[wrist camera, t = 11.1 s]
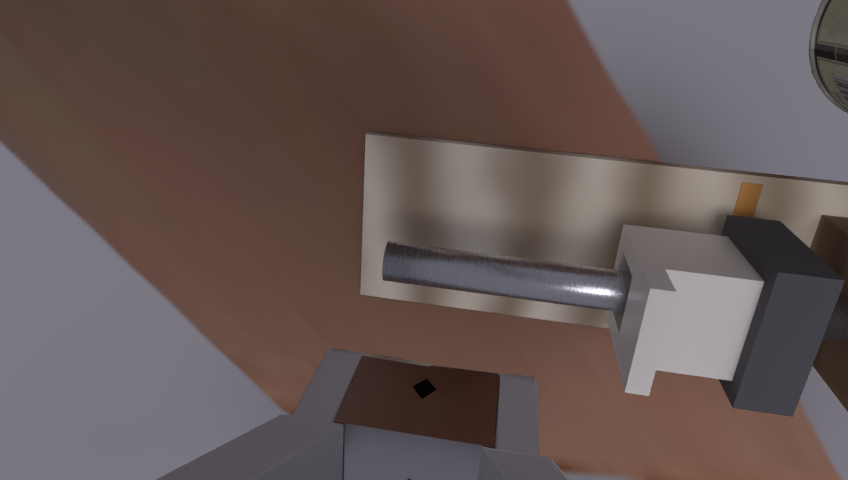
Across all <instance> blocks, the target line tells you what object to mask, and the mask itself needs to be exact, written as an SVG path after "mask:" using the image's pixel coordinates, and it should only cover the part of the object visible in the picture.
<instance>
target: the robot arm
mask: <svg viewBox="0 0 848 480" xmlns="http://www.w3.org/2000/svg"><path fill="white" fill-rule="evenodd" d="M156 480H569V479H568V478H567V476H566V475H565V474H564V473H563V472H562V471H561V470H560V468H559V467H558V466H557V465H556V464H555V463H554V461H553V460H552V459H551V458H548V457H542V456H539V427H538V398H537V380H536V379H535V378H534V377H530V376H521V375H512V374H503V373H500V375H499V374H498V373H490V372H482V371H475V370H467V369H459V368H451V367H444V366H436V365H432V364H429V363H423V362H417V361H411V360H405V359H399V358H393V357H387V356H381V355H375V354H369V353H365V354H364V353H363V352H357V351H350V350H343V349H336V348H332V349H330V350H329V351H327V352H326V354H325V356H324V358H323V360H322V361H321V363H320V365H319V367H318V369H317V370H316V372H315V374H314V376H313V378H312V380H311V381H310V383H309V385H308V387H307V389H306V390H305V392H304V394H303V396H302V398H301V400H300V401H299V403H298V405H297V407H296V409H295V410H294V412H293V414H292V416H288V415H279V416H278V417H276V418H274V419H272V420H270V421H268V422H266V423H264V424H262V425H260V426H258V427H256V428H254V429H253V430H251V431H249V432H247V433H245V434H243V435H241V436H239V437H237V438H235V439H233V440H231V441H229V442H228V443H226V444H224V445H222V446H220V447H218V448H216V449H215V450H212V451H210V452H208V453H206V454H205V455H203V456H201V457H199V458H197V459H195V460H193V461H191V462H189V463H187V464H185V465H183V466H181V467H179V468H178V469H176V470H174V471H172V472H170V473H168V474H166V475H164V476H162V477H160V478H159V479H156Z"/></svg>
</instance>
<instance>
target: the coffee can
mask: <svg viewBox="0 0 848 480" xmlns="http://www.w3.org/2000/svg"><path fill="white" fill-rule="evenodd" d="M809 58H810V64H811V69H812V74H813V75H814V78H815V80H816V82H817V84H818V86H819V88H820V89H821V90H822V92H823V93H824V95H825V96H826V97H827V98H828V99H829V100H830V101H831V102H832V103H833V104H835V105H836V106H837V107H839V108H840V109H842V110H843V111H845V112H847V113H848V0H822V2H821V4H820V6H819V9H818V12H817V14H816V17H815V19H814V22H813V26H812V29H811V33H810V40H809Z"/></svg>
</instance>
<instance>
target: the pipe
mask: <svg viewBox="0 0 848 480" xmlns="http://www.w3.org/2000/svg"><path fill="white" fill-rule="evenodd" d="M382 278H383V281H390V282H397V283H405V284H412V285H420V286H427V287H435V288H442V289H450V290H457V291H465V292H472V293H480V294H487V295H495V296H502V297H509V298H517V299H524V300H532V301H539V302H547V303H554V304H562V305H569V306H577V307H584V308H592V309H599V310H607V311H614V312H622V313H624V311H625V307H626V302H627V298H628V294H629V289H630V285H631V281H632V275H631V272H630V271H623V270H615V269H607V268H599V267H591V266H584V265H576V264H568V263H560V262H552V261H544V260H536V259H528V258H520V257H512V256H504V255H496V254H488V253H481V252H473V251H465V250H457V249H449V248H441V247H433V246H425V245H417V244H409V243H401V242H393V241H388V242H387V245H386V248H385V252H384V257H383V265H382ZM823 340H831V341H838V342H846V343H848V299H845V298H838V300H837V303H836V305H835V308H834V311H833V313H832V316H831V318H830V321H829V323H828V326H827V329H826V331H825V334H824V336H823Z"/></svg>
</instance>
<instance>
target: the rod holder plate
mask: <svg viewBox="0 0 848 480" xmlns="http://www.w3.org/2000/svg"><path fill="white" fill-rule="evenodd" d="M727 215H733V216H742V217H751V218H760V219H768V220H777V221H781V222H782V223H783V224H784V225H785V226H786V227H787V228H788V229H789V230H790V231H792V232H793V233H794V234H795V235H796V236H797V237H798V238H799V239H800V240H801V241H802V242H804V243H805V244H806V245H807V246H808V247H809V248H810V249H811V250H812V251H813V252H814V253H816V254H817V255H818V256H819V257H820V258H821V259H822V260H823V261H824V262H825V263H826V264H828V265H829V266H830V267H831V268H832V269H833V270H834V271H835V272H836V273H837V274H838V275H840V276H841V277H842V278H843V279H844V280H845V282H844V285H843V287H842V290H841V292H840V295H839V298H845V299H848V182H841V181H831V180H822V179H812V178H803V177H794V176H784V175H774V174H765V173H756V172H747V171H737V170H728V169H718V168H709V167H699V166H690V165H680V164H671V163H662V162H652V161H643V160H633V159H624V158H614V157H605V156H596V155H586V154H577V153H567V152H558V151H548V150H539V149H529V148H520V147H511V146H501V145H492V144H482V143H473V142H463V141H454V140H444V139H435V138H426V137H416V136H407V135H397V134H388V133H378V132H369V131H368V132H367V133H366V138H365V169H364V200H363V230H362V261H361V292H360V294H361V295H368V296H375V297H383V298H390V299H397V300H404V301H412V302H419V303H426V304H434V305H441V306H448V307H456V308H463V309H470V310H477V311H485V312H492V313H499V314H507V315H514V316H521V317H528V318H536V319H543V320H550V321H558V322H565V323H572V324H580V325H587V326H594V327H601V328H609V327H608V322H607V318H606V314H605V310H599V309H592V308H584V307H577V306H569V305H562V304H554V303H547V302H539V301H532V300H524V299H517V298H509V297H502V296H495V295H487V294H480V293H472V292H465V291H457V290H450V289H442V288H435V287H427V286H420V285H412V284H405V283H397V282H390V281H383V278H382V265H383V257H384V252H385V248H386V245H387V242H388V241H393V242H401V243H409V244H417V245H425V246H433V247H441V248H449V249H457V250H465V251H473V252H481V253H488V254H496V255H504V256H512V257H520V258H528V259H536V260H544V261H552V262H560V263H568V264H576V265H584V266H591V267H599V268H607V269H614V266H615V261H616V257H617V252H618V247H619V243H620V238H621V233H622V229H623V224H626V225H635V226H643V227H652V228H660V229H669V230H677V231H686V232H694V233H703V234H711V235H720V236H721V234H722V231H723V227H724V224H725V220H726V217H727ZM813 367H814V368H815V369H816V370H817V372H818V373H819V374H820V376H821V377H822V378H823V380H824V381H825V382H826V384H827V385H828V386H829V387H830V389H831V390H832V392H833V393H834V394H835V395H836V397H837V398H838V399H839V401H840V402H841V403H842V405H843V406H844V407H845V409H846V410H847V411H848V343H846V342H838V341H831V340H823V339H822V342H821V344H820V347H819V349H818V352H817V355H816V357H815V360H814V362H813Z"/></svg>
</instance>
